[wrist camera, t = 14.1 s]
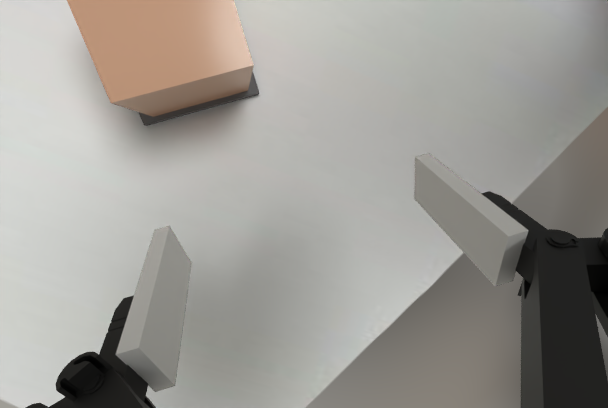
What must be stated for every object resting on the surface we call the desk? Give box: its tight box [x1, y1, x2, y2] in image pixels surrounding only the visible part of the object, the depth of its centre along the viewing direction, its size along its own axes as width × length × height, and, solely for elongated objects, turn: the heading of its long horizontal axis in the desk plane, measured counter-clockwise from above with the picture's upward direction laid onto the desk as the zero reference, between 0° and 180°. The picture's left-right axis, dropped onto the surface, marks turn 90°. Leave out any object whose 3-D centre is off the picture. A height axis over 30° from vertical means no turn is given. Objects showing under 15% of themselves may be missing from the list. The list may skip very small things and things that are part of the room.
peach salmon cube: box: [67, 0, 254, 117], centre depth 23 cm, size 9×9×10 cm
